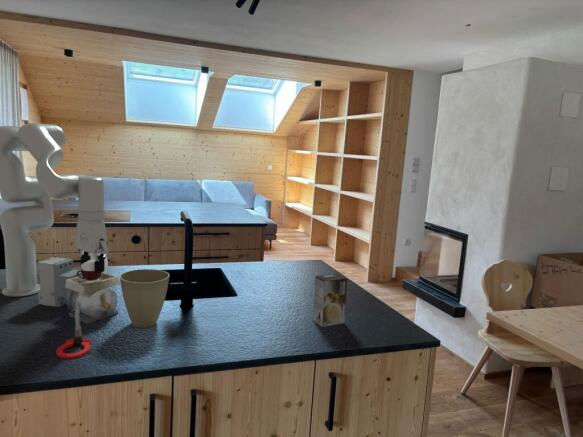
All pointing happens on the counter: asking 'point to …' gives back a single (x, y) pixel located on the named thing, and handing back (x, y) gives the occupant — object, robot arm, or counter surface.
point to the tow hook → (75, 340)
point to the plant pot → (144, 295)
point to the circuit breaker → (55, 280)
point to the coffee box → (330, 299)
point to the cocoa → (89, 271)
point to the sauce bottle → (95, 260)
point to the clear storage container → (92, 297)
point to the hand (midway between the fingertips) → (92, 269)
